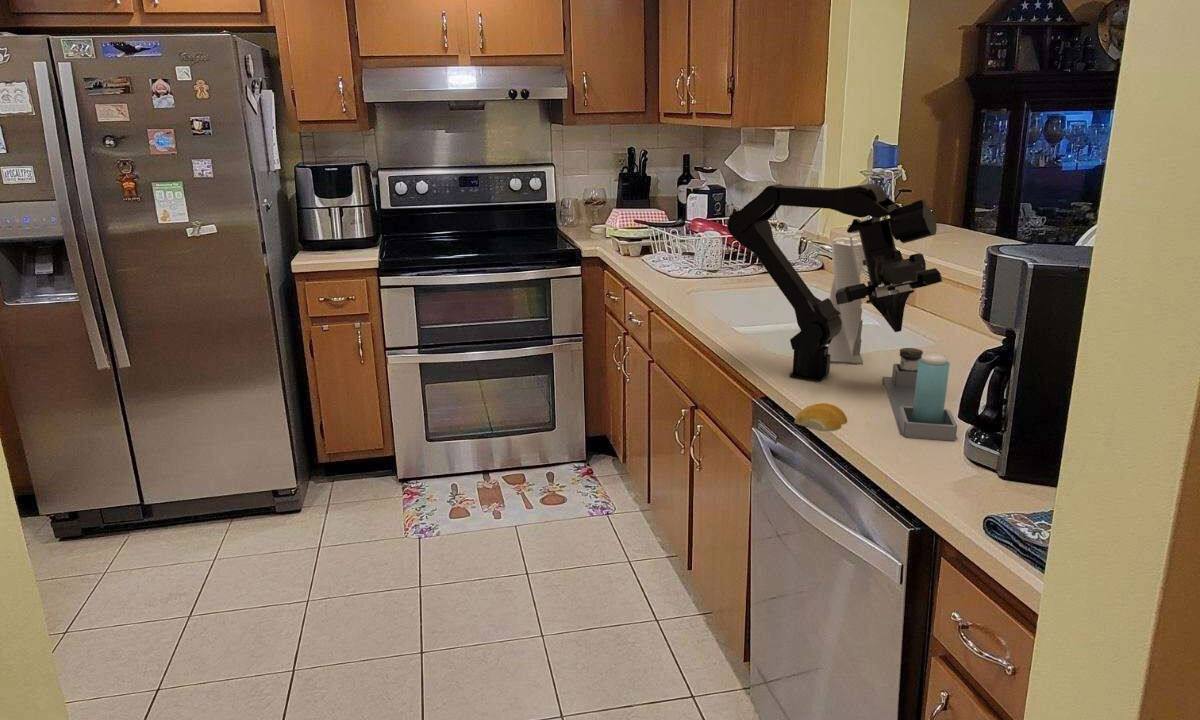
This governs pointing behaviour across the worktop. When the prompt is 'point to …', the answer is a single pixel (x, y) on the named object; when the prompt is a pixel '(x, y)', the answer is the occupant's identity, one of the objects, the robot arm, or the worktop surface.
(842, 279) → the skyscraper
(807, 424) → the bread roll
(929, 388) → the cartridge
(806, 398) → the worktop surface
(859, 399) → the worktop surface
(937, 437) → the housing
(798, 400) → the worktop surface
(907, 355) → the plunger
